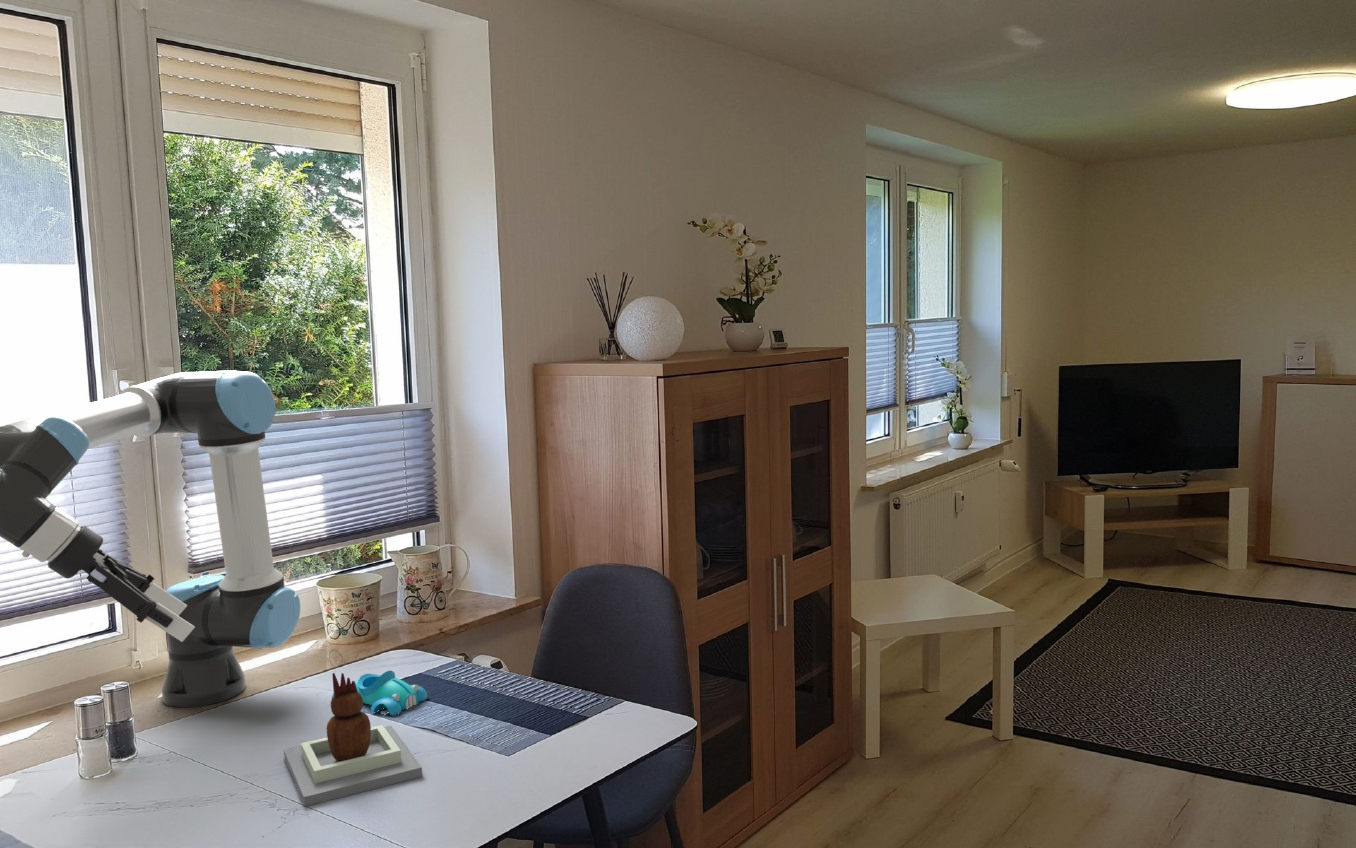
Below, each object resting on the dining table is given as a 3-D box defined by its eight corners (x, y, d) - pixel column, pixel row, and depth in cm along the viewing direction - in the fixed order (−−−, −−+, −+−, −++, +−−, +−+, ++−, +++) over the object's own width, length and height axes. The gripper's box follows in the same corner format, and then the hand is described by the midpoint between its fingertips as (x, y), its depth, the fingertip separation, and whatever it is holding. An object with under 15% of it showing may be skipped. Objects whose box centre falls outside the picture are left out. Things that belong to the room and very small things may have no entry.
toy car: (392, 720, 186) (389, 685, 186) (324, 705, 195) (321, 671, 194) (433, 700, 196) (430, 666, 195) (366, 686, 204) (363, 654, 204)
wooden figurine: (330, 769, 162) (323, 679, 160) (327, 755, 167) (320, 668, 166) (374, 760, 165) (367, 672, 163) (370, 747, 170) (363, 661, 168)
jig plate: (284, 758, 170) (282, 738, 170) (391, 733, 179) (390, 714, 179) (304, 806, 153) (302, 784, 153) (422, 776, 162) (421, 755, 161)
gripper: (47, 548, 160) (162, 622, 169) (41, 583, 139) (173, 665, 148) (82, 511, 162) (194, 585, 171) (81, 539, 141) (209, 623, 150)
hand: (184, 623), depth 160 cm, fingers open, 13 cm apart
